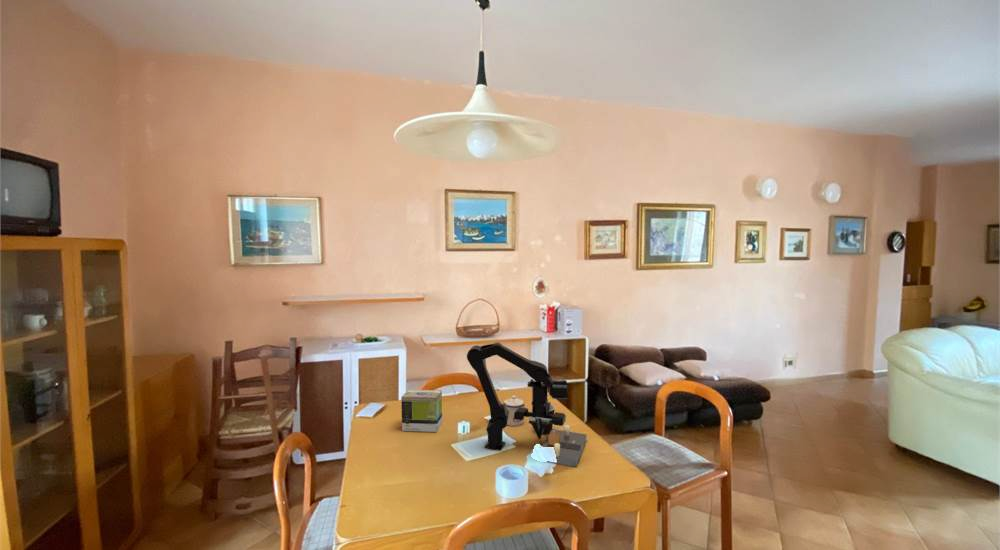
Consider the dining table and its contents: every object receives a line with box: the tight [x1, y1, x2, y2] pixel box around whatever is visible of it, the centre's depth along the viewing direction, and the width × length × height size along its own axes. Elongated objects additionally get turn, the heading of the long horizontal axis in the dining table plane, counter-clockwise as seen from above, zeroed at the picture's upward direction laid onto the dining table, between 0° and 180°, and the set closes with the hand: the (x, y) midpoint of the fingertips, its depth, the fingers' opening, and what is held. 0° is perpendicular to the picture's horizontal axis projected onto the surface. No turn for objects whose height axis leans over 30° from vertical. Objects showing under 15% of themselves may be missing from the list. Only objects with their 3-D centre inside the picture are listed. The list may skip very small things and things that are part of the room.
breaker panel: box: [541, 428, 587, 468], centre depth 156 cm, size 22×14×3 cm, turn 159°
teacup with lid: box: [502, 395, 526, 427], centre depth 182 cm, size 12×9×12 cm
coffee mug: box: [539, 404, 556, 436], centre depth 174 cm, size 12×9×10 cm
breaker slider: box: [549, 432, 560, 445], centre depth 155 cm, size 4×4×4 cm
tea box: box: [400, 389, 443, 433], centre depth 176 cm, size 15×10×15 cm
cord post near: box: [554, 443, 560, 457], centre depth 146 cm, size 2×2×4 cm
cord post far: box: [563, 424, 570, 437], centre depth 162 cm, size 2×2×4 cm
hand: (539, 438), depth 157 cm, fingers closed
